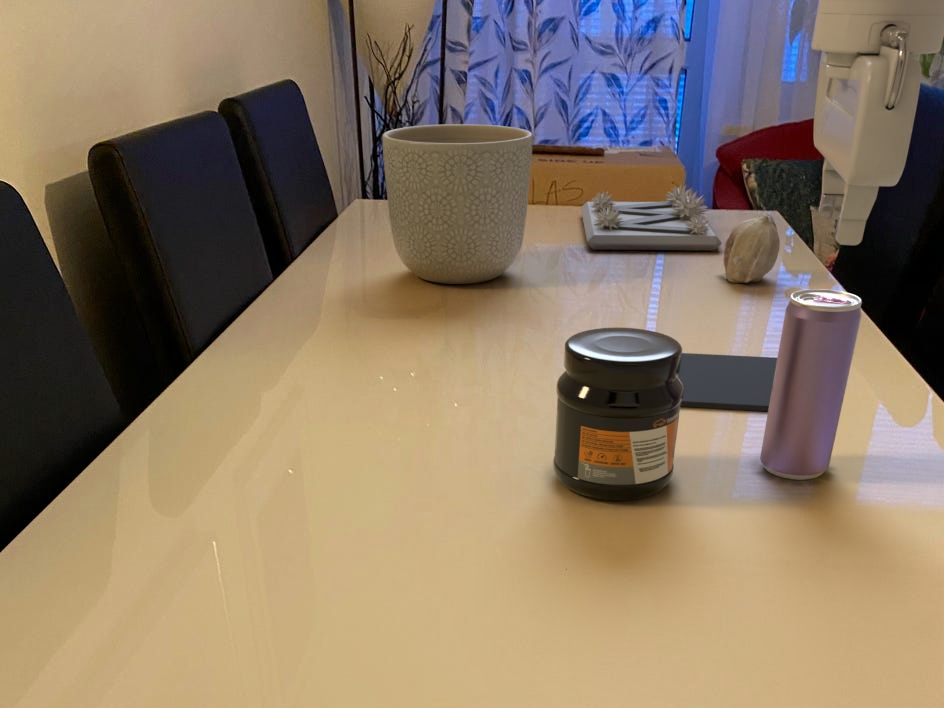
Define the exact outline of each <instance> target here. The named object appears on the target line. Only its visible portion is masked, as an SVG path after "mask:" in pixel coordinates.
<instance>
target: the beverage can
mask: <svg viewBox="0 0 944 708" xmlns="http://www.w3.org/2000/svg"><path fill="white" fill-rule="evenodd" d="M789 299H790V300H789V302H788V304H787V306H786V307H785V311H784V318H783V323H782V329H781V335H780V341H779V347H778V352H777V357H776V358H777V363H776V369H775V375H774V380H773V386H772V392H771V398H770V403H769V409H768V411H767V415H766V422H765V426H764V432H763V440H762V444H761V450H760V456H759V459H760V462H761V464H762V466H763V469H765V470H766V471H767V472H768V473H770V474H771V475H774V476H777V477H778V478H783V479H786V480H795V481H796V480H797V481H805V480H806V481H807V480H812V479H816V478H818V477H821V476H822V475H823V474H824V473H825V472H826V471H827V470H828V468H829V467H830V464H831V459H832V453H833V449H834V444H835V440H836V436H837V430H838V426H839V421H840V417H841V412H842V408H843V403H844V398H845V394H846V389H847V385H848V380H849V375H850V371H851V366H852V361H853V357H854V352H855V347H856V343H857V339H858V334H859V329H860V324H861V321H862V307H861V306H862V304H863V301H862V298H861V297H859V296H858V295H856V294H853V293H850V292H847V291H842V290H835V289H827V288H826V289H825V288H811V289H801V290H797V291H794V292H793V293H791V294H790V296H789Z"/></svg>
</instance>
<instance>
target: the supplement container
mask: <svg viewBox="0 0 944 708" xmlns="http://www.w3.org/2000/svg"><path fill="white" fill-rule="evenodd" d="M682 353H683V346H682V345H681V344H680V342H679V341H677V339H675V338H673V337H672V336H669V335H668V334H664V333H661V332H657V331H653V330H649V329H643V328H634V327H600V328H594V329H587V330H584V331H583V330H582V331H580V332H577V333H575V334H573V335H571V336H570V337H569V338H568V339H567V340H566V341H565V342H564V352H563V367H564V369H565V370H564V371H563V372H562V373H561V375H560V376H559V377H558V379H557V381H556V388H555V389H556V395H557V398H556V399H557V400H556V402H557V403H556V419H555V420H556V421H555V436H554V437H555V439H554V440H555V441H554V456H553V460H552V461H553V462H552V467H553V472H554V475H555V477H556V478H557V480H558V481H559V482H560V483H561V485H563V486H565V487H566V488H567V489H569V490H571V491H572V492H575V493H576V494H578V495H582V496H585V497H588V498H593V499H597V500H603V501H605V500H606V501H633V500H638V499H643V498H646V497H649V496H651V495H655V494H656V493H658V492H660V491H661V490H663V489H664V488H665V487H666V486H668V484H669V482H670V481H671V479H672V477H673V475H674V470H675V465H674V462H675V461H674V460H675V454H676V453H675V452H676V445H677V438H678V437H677V435H678V427H679V421H680V420H679V419H680V412H681V407H680V405H681V401H682V399H683V394H684V388H683V384H682V382H681V381H680V379H679V378H678V373H679V371H680V366H681V357H682Z"/></svg>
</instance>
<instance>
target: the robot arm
mask: <svg viewBox="0 0 944 708" xmlns="http://www.w3.org/2000/svg"><path fill="white" fill-rule="evenodd" d="M817 4H818V5H817V9H816V15H815V22H814V27H813V32H812V33H813V34H812V39H811V44H810V49H811V50H813V51H817V52H821V54H820V61H819V68H818V76H817V84H816V93H815V94H816V95H815V103H814V105H815V107H814V117H813V145H814V148H816V150H817V151H818V152H819V154H821V155H822V156H823V159H824V160H823V165H822V177H821V178H822V180H821V196H820V201H819V207H818V214H819V215H820V217H821V218H822V219H823V220H831V221H836V227H835V231H834V238H835V240H836V242H837V244H839V245H842V246H857V245H859V244H860V243H862V241H863V237H864V234H865V233H864V232H865V228H866V224H867V220H868V219H869V216H870V214H871V211H872V210H873V207H874V205H875V202H876V200H877V197H878V192H879V188H880V187H895V186H896V185H897V184H898V183H899V181H900V180H901V177H902V175H903V172H904V169H905V167H906V164H907V163H906V162H907V158H908V153H909V148H910V144H911V138H912V133H913V128H914V122H915V118H916V112H917V106H918V102H919V101H918V100H919V96H920V89H921V80H922V65H921V63H920V58H921V55H928V54H937V53H939V52H940V51H941V50H942V46H943V42H944V0H818V3H817Z"/></svg>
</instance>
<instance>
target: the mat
mask: <svg viewBox="0 0 944 708" xmlns="http://www.w3.org/2000/svg"><path fill="white" fill-rule="evenodd" d="M776 363H777V357H774V356H773V357H771V356H753V355H731V354H728V355H727V354H714V353H713V354H709V353H693V352H690V353H689V352H682V357H681V366H680V371H679V373H678V374H677V376H678V378H679V379H680V381H681V382H682V384H683V388H684V394H683V399H682V401H681V405H680V408H681V407H682V408H699V409H716V410H717V409H720V410H735V411H755V412H768V409H769V403H770V398H771V392H772V386H773V380H774V375H775V369H776Z"/></svg>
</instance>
